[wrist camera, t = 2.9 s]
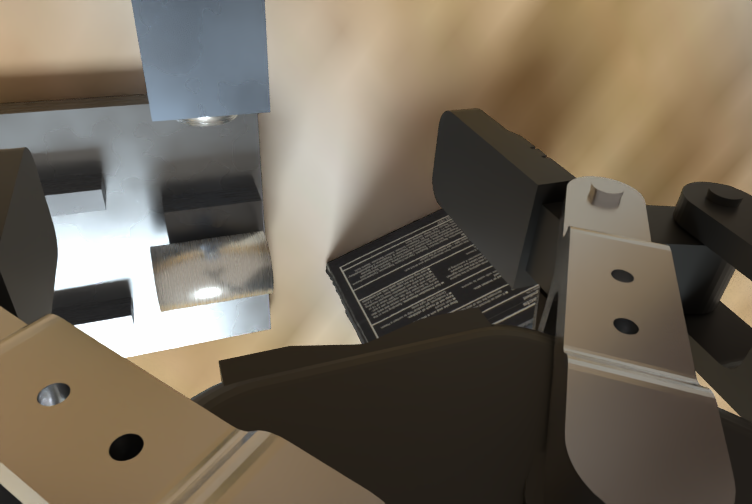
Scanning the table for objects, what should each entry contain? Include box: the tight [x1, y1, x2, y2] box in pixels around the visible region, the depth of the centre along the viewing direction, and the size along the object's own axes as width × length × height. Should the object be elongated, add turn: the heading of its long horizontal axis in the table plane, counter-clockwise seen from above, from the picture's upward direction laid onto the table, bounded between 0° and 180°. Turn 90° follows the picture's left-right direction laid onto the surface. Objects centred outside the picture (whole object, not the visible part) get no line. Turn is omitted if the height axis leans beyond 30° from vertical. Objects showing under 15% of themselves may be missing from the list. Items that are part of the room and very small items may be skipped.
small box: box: [326, 209, 540, 344], centre depth 33 cm, size 11×6×10 cm, turn 106°
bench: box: [0, 94, 273, 357], centre depth 26 cm, size 21×14×6 cm, turn 86°
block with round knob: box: [131, 0, 270, 126], centre depth 22 cm, size 7×4×7 cm, turn 176°
